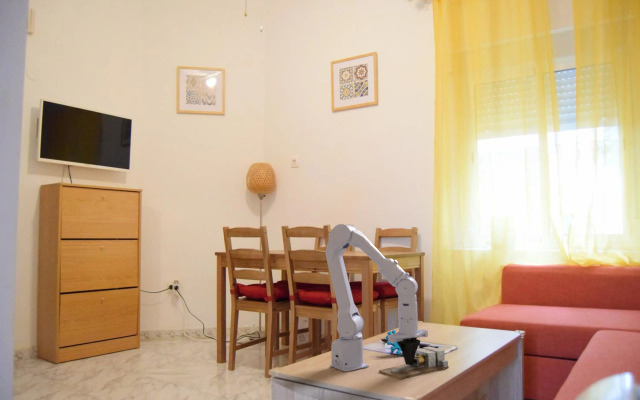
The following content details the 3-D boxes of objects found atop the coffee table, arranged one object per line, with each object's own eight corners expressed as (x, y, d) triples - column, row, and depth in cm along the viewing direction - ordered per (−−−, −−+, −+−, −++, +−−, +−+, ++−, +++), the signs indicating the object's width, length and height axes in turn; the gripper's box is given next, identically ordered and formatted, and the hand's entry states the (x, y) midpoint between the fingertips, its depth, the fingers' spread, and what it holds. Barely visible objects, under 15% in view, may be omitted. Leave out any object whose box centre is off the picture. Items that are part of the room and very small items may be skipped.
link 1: (428, 368, 144) (428, 353, 144) (409, 363, 150) (409, 348, 151) (435, 366, 146) (435, 352, 146) (416, 361, 152) (416, 347, 152)
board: (400, 379, 135) (400, 375, 135) (378, 372, 143) (378, 368, 143) (448, 367, 147) (448, 363, 147) (426, 361, 154) (426, 357, 154)
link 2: (442, 367, 145) (441, 352, 145) (422, 362, 151) (422, 347, 152) (449, 365, 146) (448, 351, 147) (429, 360, 153) (429, 346, 153)
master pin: (417, 367, 142) (417, 359, 143) (406, 364, 146) (406, 356, 146) (440, 362, 148) (439, 354, 148) (429, 359, 152) (429, 351, 152)
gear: (394, 353, 158) (383, 328, 165) (385, 364, 161) (375, 338, 168) (420, 354, 163) (408, 329, 171) (411, 364, 166) (399, 339, 174)
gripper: (399, 322, 137) (400, 371, 136) (434, 317, 145) (436, 363, 144) (382, 319, 143) (384, 365, 142) (417, 314, 151) (419, 358, 150)
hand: (409, 364), depth 144 cm, fingers closed
